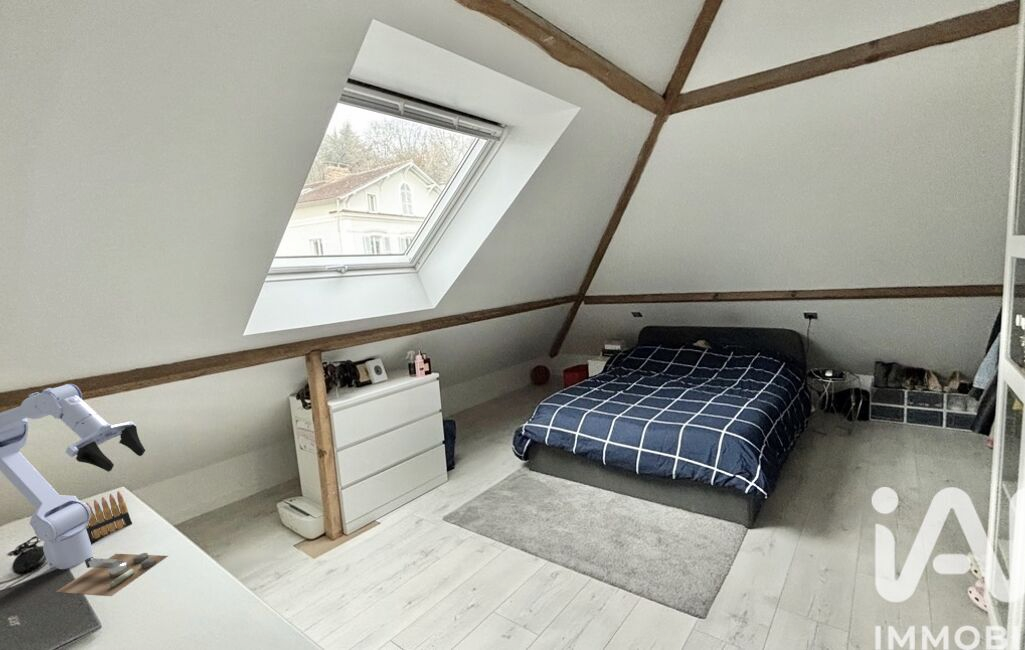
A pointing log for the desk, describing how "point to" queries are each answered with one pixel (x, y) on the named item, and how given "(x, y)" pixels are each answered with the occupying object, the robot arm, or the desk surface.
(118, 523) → the ammunition clip
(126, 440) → the robot arm
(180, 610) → the desk surface
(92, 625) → the desk surface
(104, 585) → the brown flat board
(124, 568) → the door lever handle
